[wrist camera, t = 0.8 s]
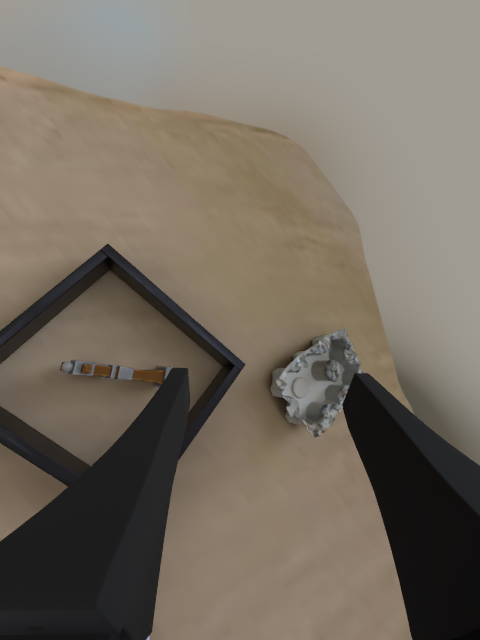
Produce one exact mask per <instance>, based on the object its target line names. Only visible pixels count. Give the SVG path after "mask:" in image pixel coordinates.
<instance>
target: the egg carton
mask: <svg viewBox="0 0 480 640" xmlns="http://www.w3.org/2000/svg"><path fill="white" fill-rule="evenodd" d="M312 344H313V346H312V347H311V348H309V349H308V350H307V351H299V352H297V353H295V354H294V355H293V361H292V362H291V363H290V364H289V365H288V366H287V367H286V368H277V369H275V370H274V371H273V372H272V376H273V382H272V385H271V388H270V390H271V392H272V395H273V396H275V397H280V398H284V399H285V400H286V401H287V402H288V405H287V406H286V408H287V412H286V413H285V417H286V418H287V420H288V422H290V423H293V424H296V425H301V426H303V425H306V427H307V430H308V431H309V432H310V433H311V434H312V436H313V437H317V436H320V435H321V433H323V432H325V431H326V430H327V428H328V427H329V426H331V424H332V423H333V421H334V420H335V419H334V416H335V415H337V414H338V413H339V412H340V411H341V408H342V407H343V406H342V404H343V401H344V399H345V396H346V393H347V391H348V388H349V386H350V383H351V381H352V378H353V376H354V373H363V372H362V371H361V369H360V365H361V362H360V361H359V360H358V359H357V356H356V352H355V351H354V349H353V344H351V343H350V342H349V341H348V337H347V333H346V330H345V329H341V330H338V331H336V332H334V333H332V334H330V335H325V336H319V337H316V338H314V339H313V340H312Z"/></svg>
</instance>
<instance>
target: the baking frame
mask: <svg viewBox="0 0 480 640" xmlns="http://www.w3.org/2000/svg"><path fill="white" fill-rule="evenodd" d="M109 269H111V270H112V271H113V272H114V273H115V274H116V275H118V276H119V277H120V278H121V279H122V280H123V281H125V282H126V283H127V284H128V285H129V286H130V287H132V288H133V289H134V290H135V291H136V292H137V293H139V294H140V295H141V296H142V297H143V298H144V299H146V300H147V301H148V302H149V303H150V304H151V305H153V306H154V307H155V308H156V309H157V310H158V311H160V312H161V313H162V314H163V315H164V316H165V317H167V318H168V319H169V320H170V321H171V322H172V323H174V324H175V325H176V326H177V327H178V328H179V329H181V330H182V331H183V332H184V333H185V334H186V335H188V336H189V337H190V338H191V339H192V340H193V341H195V342H196V343H197V344H198V345H199V346H200V347H202V348H203V349H204V350H205V351H206V352H207V353H209V354H210V355H211V356H212V357H213V358H214V359H216V360H217V361H218V362H219V363H220V364H221V365H223V366H224V367H223V368H222V369H221V370H220V372H219V373H218V374H217V376H216V377H215V378H214V380H213V381H212V383H211V384H210V385H209V387H208V388H207V389H206V391H205V392H204V393H203V395H202V396H201V397H200V399H199V400H198V402H197V403H196V404H195V406H194V407H193V408H192V410H191V411H190V412H189V414H188V421H187V426H186V431H185V435H184V439H183V443H182V447H181V451H180V455H179V459H180V457H181V456H182V455H183V453H184V452H185V450H186V449H187V447H188V446H189V445H190V443H191V442H192V440H193V439H194V437H195V436H196V435H197V433H198V432H199V430H200V429H201V427H202V426H203V425H204V423H205V422H206V420H207V419H208V417H209V416H210V415H211V413H212V412H213V410H214V409H215V407H216V406H217V405H218V403H219V402H220V400H221V399H222V397H223V396H224V395H225V393H226V392H227V390H228V389H229V387H230V386H231V385H232V383H233V382H234V380H235V379H236V377H237V376H238V375H239V373H240V372H241V370H242V369H243V367H244V366H245V364H244V363H243V362H242V361H241V360H240V359H239V358H238V357H236V356H235V355H234V354H233V353H232V352H231V351H230V350H229V349H227V348H226V347H225V346H224V345H223V344H222V343H221V342H219V341H218V340H217V339H216V338H215V337H214V336H213V335H211V334H210V333H209V332H208V331H207V330H206V329H205V328H203V327H202V326H201V325H200V324H199V323H198V322H197V321H195V320H194V319H193V318H192V317H191V316H190V315H189V314H188V313H186V312H185V311H184V310H183V309H182V308H181V307H180V306H178V305H177V304H176V303H175V302H174V301H173V300H172V299H170V298H169V297H168V296H167V295H166V294H165V293H164V292H162V291H161V290H160V289H159V288H158V287H157V286H156V285H154V284H153V283H152V282H151V281H150V280H149V279H148V278H147V277H145V276H144V275H143V274H142V273H141V272H140V271H139V270H137V269H136V268H135V267H134V266H133V265H132V264H131V263H129V262H128V261H127V260H126V259H125V258H124V257H123V256H121V255H120V254H119V253H118V252H117V251H116V250H115V249H113V248H112V247H111V246H110V245H109V244H107V245H106V246H104V247H103V248H102V249H101V250H99V251H98V252H97V253H96V254H95V255H93V256H92V257H91V258H90V259H88V260H87V261H86V262H85V263H83V264H82V265H81V266H80V267H79V268H77V269H76V270H75V271H74V272H72V273H71V274H70V275H69V276H67V277H66V278H65V279H64V280H62V281H61V282H60V283H59V284H58V285H56V286H55V287H54V288H53V289H51V290H50V291H49V292H48V293H46V294H45V295H44V296H43V297H42V298H40V299H39V300H38V301H37V302H35V303H34V304H33V305H32V306H30V307H29V308H28V309H27V310H25V311H24V312H23V313H22V314H21V315H19V316H18V317H17V318H16V319H14V320H13V321H12V322H11V323H9V324H8V325H7V326H6V327H5V328H3V329H2V330H1V331H0V364H1V363H2V362H3V361H4V360H5V359H6V358H7V357H9V356H10V355H11V354H12V353H13V352H14V351H16V350H17V349H18V348H19V347H20V346H21V345H23V344H24V343H25V342H26V341H27V340H28V339H29V338H31V337H32V336H33V335H34V334H35V333H36V332H38V331H39V330H40V329H41V328H42V327H43V326H45V325H46V324H47V323H48V322H49V321H50V320H51V319H53V318H54V317H55V316H56V315H57V314H58V313H60V312H61V311H62V310H63V309H64V308H65V307H67V306H68V305H69V304H70V303H71V302H72V301H73V300H75V299H76V298H77V297H78V296H79V295H80V294H82V293H83V292H84V291H85V290H86V289H87V288H89V287H90V286H91V285H92V284H93V283H94V282H95V281H97V280H98V279H99V278H100V277H101V276H102V275H104V274H105V273H106V272H107V271H108V270H109ZM0 443H1V444H3V445H4V446H6V447H7V448H9V449H10V450H12V451H14V452H15V453H17V454H18V455H20V456H21V457H23V458H25V459H26V460H28V461H29V462H31V463H32V464H34V465H36V466H37V467H39V468H40V469H42V470H43V471H45V472H46V473H48V474H50V475H51V476H53V477H54V478H56V479H57V480H59V481H61V482H62V483H64V484H65V485H67V486H68V487H69V486H70V485H71V484H72V483H74V482H75V481H76V480H77V479H78V478H79V477H80V476H82V475H83V474H84V473H85V472H86V471H87V470H88V469H89V468H90V466H89V465H87V464H86V463H84V462H83V461H81V460H80V459H78V458H77V457H75V456H74V455H72V454H71V453H69V452H68V451H66V450H65V449H63V448H62V447H60V446H59V445H57V444H56V443H54V442H53V441H51V440H50V439H48V438H47V437H45V436H44V435H42V434H41V433H39V432H38V431H36V430H35V429H33V428H32V427H30V426H29V425H27V424H26V423H24V422H23V421H21V420H20V419H18V418H17V417H15V416H14V415H12V414H11V413H9V412H8V411H6V410H5V409H3V408H2V407H0ZM179 459H178V460H179Z"/></svg>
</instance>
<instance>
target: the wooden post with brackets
mask: <svg viewBox="0 0 480 640" xmlns="http://www.w3.org/2000/svg"><path fill="white" fill-rule="evenodd" d="M60 370H62V371H64V372H68V374H80V375H86V376H93V375H100V376H104V377H105V378H110V379H126V380H132V379H139V380H145V381H150V382H154V385H153V386H157V387H160V386H161V385H162V383H163V382H164V380H165V379H166V377H167V375H168V374H169V372H170V370H171V367H162V366H160V367H158V366H157V368H156V370H134V368H125V367H121V366H114V365H108V367H107V365H95V363H88V362H81V361H77V360H71V362H62V365H61V369H60Z"/></svg>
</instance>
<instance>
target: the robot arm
mask: <svg viewBox="0 0 480 640" xmlns="http://www.w3.org/2000/svg"><path fill="white" fill-rule="evenodd" d="M189 406H190V392H189V378H188V368H172V369H171V370H170V372H169V374H168V375H167V377H166V379H165V380H164V382H163V383H162V385H161V386H160V388H159V389H158V391H157V392H156V393H155V395H154V396H153V398H152V399H151V400H150V402H149V403H148V404H147V406H146V407H145V408H144V410H143V411H142V412H141V413H140V415H139V416H138V417H137V418H136V419H135V421H134V422H133V423H132V424H131V425H130V427H129V428H128V429H127V430H126V431H125V432H124V433H123V435H122V436H121V437H120V438H119V439H118V440H117V441H116V442H115V443H114V444H113V445H112V446H111V447H110V449H109V450H108V451H107V452H106V453H105V454H104V455H103V456H102V457H100V458H99V459H98V460H97V461H96V462H95V463H94V464H93V465H92V466H91V467H90V468H89V469H88V470H87V471H86V472H85V473H84V474H83V475H82V476H80V477H79V478H78V479H77V480H76V481H75V482H74V483H72V484H71V485H70V486H69V487H68V488H67V489H65V490H64V491H63V492H62V493H61V494H60V495H58V496H57V497H56V498H55V499H54V500H53V501H51V502H50V503H49V504H48V505H47V506H45V507H44V508H43V509H42V510H40V511H39V512H38V513H36V514H35V515H34V516H33V517H31V518H30V519H29V520H27V521H26V522H25V523H24V524H22V525H21V526H20V527H18V528H17V529H16V530H15V531H13V532H12V533H11V534H9V535H8V536H7V537H5V538H4V539H3V540H2V541H0V640H149V638H150V636H149V635H150V634H151V632H152V626H153V618H154V610H155V602H156V594H157V586H158V579H159V571H160V564H161V557H162V550H163V543H164V536H165V529H166V522H167V515H168V509H169V503H170V496H171V490H172V485H173V480H174V476H175V472H176V467H177V463H178V459H179V455H180V451H181V447H182V443H183V439H184V435H185V431H186V426H187V421H188V414H189ZM342 406H343V410H344V414H345V418H346V421H347V425H348V428H349V431H350V433H351V436H352V438H353V441H354V443H355V446H356V448H357V450H358V453H359V455H360V458H361V460H362V462H363V465H364V467H365V470H366V472H367V474H368V477H369V479H370V482H371V485H372V487H373V490H374V493H375V496H376V499H377V502H378V506H379V509H380V512H381V515H382V518H383V522H384V525H385V529H386V532H387V536H388V539H389V543H390V547H391V550H392V554H393V558H394V562H395V566H396V570H397V574H398V578H399V582H400V586H401V591H402V595H403V599H404V604H405V608H406V613H407V617H408V622H409V627H410V632H411V636H412V639H413V640H480V466H479V465H478V464H477V463H475V462H474V461H472V460H471V459H469V458H468V457H467V456H465V455H464V454H463V453H461V452H460V451H458V450H457V449H456V448H454V447H453V446H452V445H450V444H449V443H448V442H446V441H445V440H444V439H443V438H441V437H440V436H439V435H438V434H436V433H435V432H434V431H433V430H431V429H430V428H429V427H428V426H426V425H425V424H424V423H423V422H422V421H421V420H420V419H418V418H417V417H416V416H415V415H414V414H413V413H411V412H410V411H409V410H408V409H407V408H406V407H405V406H404V405H402V404H401V403H400V402H399V401H398V400H397V399H396V398H395V397H394V396H393V395H392V394H390V393H389V392H388V391H387V390H386V389H385V388H384V387H383V386H382V385H381V384H380V383H378V382H377V381H376V380H375V379H374V378H373V377H372V376H371V375H369V374H368V373H354V376H353V378H352V381H351V383H350V386H349V388H348V391H347V393H346V396H345V399H344V401H343V404H342Z"/></svg>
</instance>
